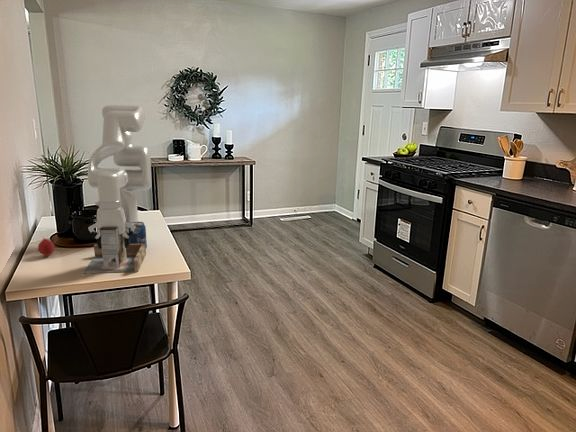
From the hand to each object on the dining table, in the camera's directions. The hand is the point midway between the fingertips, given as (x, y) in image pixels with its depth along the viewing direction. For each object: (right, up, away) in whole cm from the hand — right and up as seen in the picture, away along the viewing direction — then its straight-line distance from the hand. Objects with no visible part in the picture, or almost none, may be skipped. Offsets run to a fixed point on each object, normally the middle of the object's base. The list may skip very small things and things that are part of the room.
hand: (113, 247), depth 165 cm
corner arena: (0, -7, +3) cm, 7 cm away
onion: (-31, -5, +8) cm, 32 cm away
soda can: (+3, -3, +18) cm, 19 cm away
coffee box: (0, -7, +2) cm, 7 cm away
